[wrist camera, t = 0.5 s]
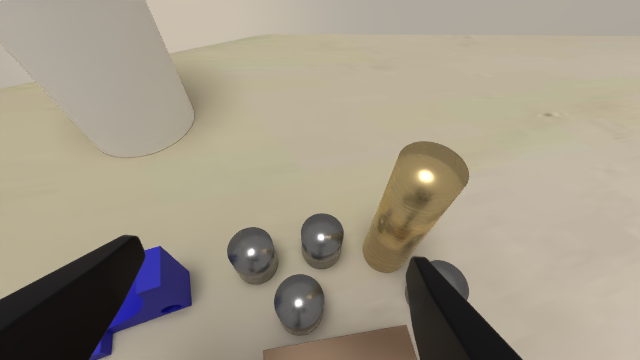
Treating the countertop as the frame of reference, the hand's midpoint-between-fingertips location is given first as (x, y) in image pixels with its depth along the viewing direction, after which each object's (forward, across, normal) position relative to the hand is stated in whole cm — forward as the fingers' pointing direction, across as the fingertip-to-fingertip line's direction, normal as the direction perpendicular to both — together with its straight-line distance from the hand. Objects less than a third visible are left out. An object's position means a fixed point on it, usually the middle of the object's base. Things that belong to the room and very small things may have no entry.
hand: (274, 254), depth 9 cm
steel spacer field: (+10, -4, +13) cm, 17 cm away
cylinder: (+27, +23, +7) cm, 36 cm away
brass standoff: (+12, -8, +12) cm, 19 cm away
